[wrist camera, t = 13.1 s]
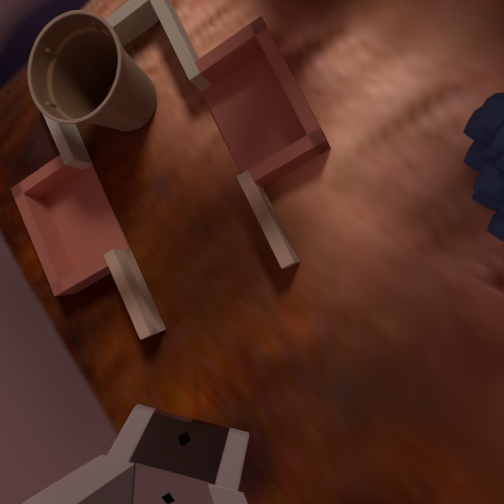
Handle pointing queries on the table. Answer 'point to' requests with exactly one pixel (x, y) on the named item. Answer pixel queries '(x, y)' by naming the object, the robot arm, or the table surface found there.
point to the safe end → (127, 29)
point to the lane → (137, 290)
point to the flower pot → (88, 75)
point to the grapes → (488, 158)
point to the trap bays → (233, 129)
